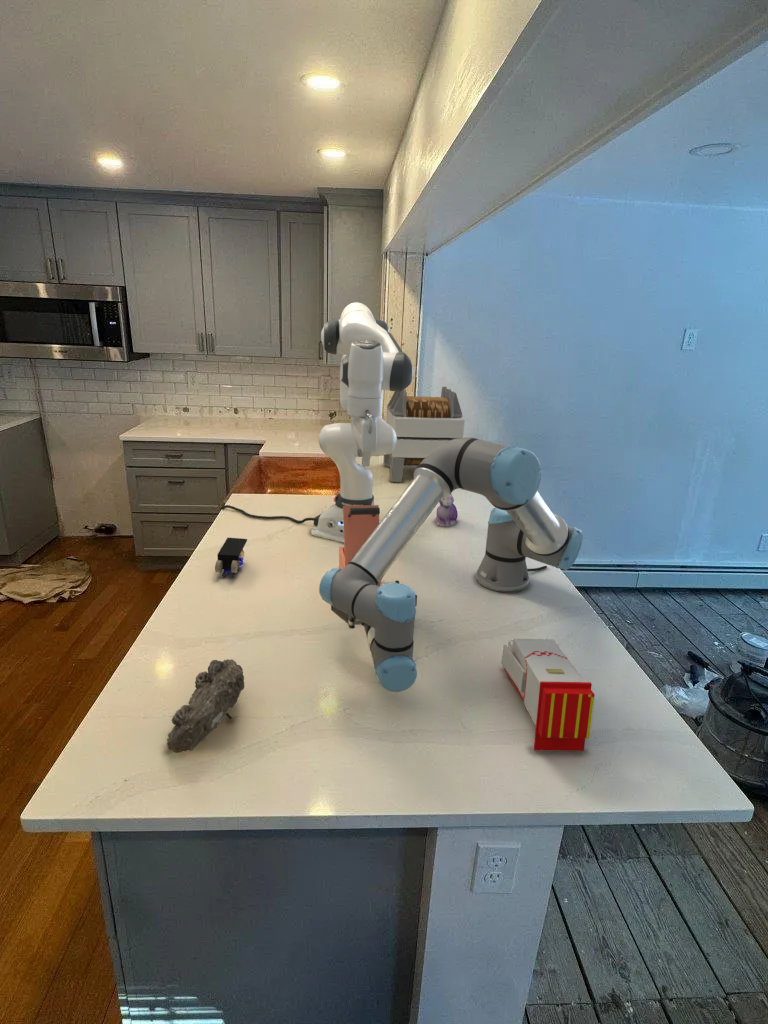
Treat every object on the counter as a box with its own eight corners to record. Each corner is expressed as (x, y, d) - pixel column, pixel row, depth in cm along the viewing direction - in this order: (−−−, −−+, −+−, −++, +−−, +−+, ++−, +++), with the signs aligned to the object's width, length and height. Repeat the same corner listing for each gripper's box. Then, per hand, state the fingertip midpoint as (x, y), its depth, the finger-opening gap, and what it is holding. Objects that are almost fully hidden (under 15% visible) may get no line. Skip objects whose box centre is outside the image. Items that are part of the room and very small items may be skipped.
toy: (549, 621, 128) (604, 690, 99) (544, 676, 131) (595, 758, 101) (496, 620, 128) (535, 688, 98) (492, 675, 130) (528, 757, 101)
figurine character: (238, 584, 162) (249, 557, 175) (236, 562, 158) (247, 536, 172) (215, 584, 161) (227, 556, 175) (212, 561, 158) (225, 535, 171)
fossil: (192, 660, 117) (244, 628, 112) (224, 691, 120) (276, 661, 115) (142, 746, 98) (202, 712, 93) (182, 779, 101) (242, 748, 96)
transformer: (382, 463, 289) (386, 382, 275) (445, 464, 293) (451, 384, 279) (390, 482, 257) (394, 392, 243) (460, 483, 261) (468, 394, 247)
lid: (342, 506, 153) (346, 500, 144) (377, 505, 154) (383, 499, 146) (345, 569, 150) (348, 566, 141) (380, 568, 151) (386, 565, 143)
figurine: (442, 528, 206) (446, 489, 201) (428, 519, 214) (431, 481, 209) (464, 525, 210) (468, 486, 205) (449, 516, 218) (452, 479, 213)
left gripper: (384, 415, 133) (381, 471, 138) (371, 401, 152) (369, 451, 157) (357, 414, 132) (356, 472, 137) (347, 400, 151) (346, 451, 156)
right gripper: (325, 653, 119) (318, 603, 138) (440, 645, 123) (418, 597, 142) (325, 622, 116) (318, 575, 136) (443, 615, 120) (419, 570, 140)
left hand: (363, 460), depth 147 cm, fingers open, 8 cm apart
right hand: (369, 586), depth 139 cm, fingers open, 13 cm apart
